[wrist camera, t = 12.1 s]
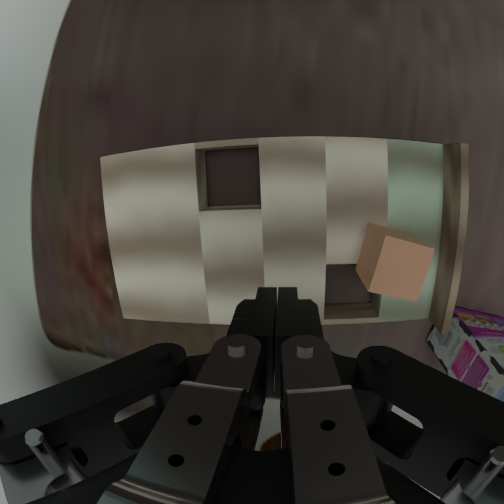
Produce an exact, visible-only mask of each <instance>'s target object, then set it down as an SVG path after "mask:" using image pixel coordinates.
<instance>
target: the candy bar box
mask: <svg viewBox="0 0 504 504" xmlns="http://www.w3.org/2000/svg"><path fill="white" fill-rule="evenodd" d="M426 342H427V343H428V345H429V346H430V347H431V349H432V350H433V352H434V353H435V355H436V356H437V358H438V360H439V361H440V363H441V364H442V366H443V367H444V369H445V371H446V372H447V374H448V376H450V377H452V378H454V379H457V380H459V381H461V382H463V383H465V384H467V385H469V386H471V387H473V388H475V389H477V390H479V391H482V392H484V393H486V394H488V395H490V396H492V397H494V398H496V399H499V400H501V401H503V402H504V317H500V316H495V315H491V314H486V313H482V312H477V311H473V310H468V309H464V308H460V307H455V308H454V312H453V317H452V321H451V325H450V329H449V333H448V334H440V333H439V331H438V330H437V329H436V327H435V326H434V325H433V327H432V329H431V331H430V332H429V335H428V337H427V339H426Z"/></svg>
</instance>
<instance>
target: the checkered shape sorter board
mask: <svg viewBox="0 0 504 504" xmlns="http://www.w3.org/2000/svg"><path fill="white" fill-rule="evenodd" d="M250 147H259V164H260V186H261V205H233V206H210V207H208V197H207V181H206V164H205V151H208V150H220V149H234V148H250ZM100 159H101V175H102V187H103V198H104V208H105V216H106V224H107V232H108V239H109V246H110V252H111V258H112V264H113V270H114V275H115V280H116V286H117V291H118V295H119V300H120V305H121V309H122V314H123V318H128V319H140V320H152V321H167V322H183V323H203V324H231V321H232V318H233V315H234V312H235V309H236V306H237V305H238V304H239V303H240V302H241V301H243V300H244V299H255V298H256V294H257V289H258V287H277V300H278V287H297V292H298V299H311V300H312V301H313V302H315V303H316V304H317V305H318V311H319V316H320V321H321V325H328V324H355V323H375V322H391V321H404V320H417V319H429V320H430V321H431V322H432V324H433V325H434V326H435V327H436V329H437V330H438V331H439V333H440V334H448V333H449V329H450V325H451V321H452V317H453V312H454V308H455V303H456V298H457V293H458V288H459V282H460V276H461V270H462V264H463V257H464V249H465V240H466V230H467V218H468V202H469V144H465V143H452V144H436V143H427V142H418V141H407V140H395V139H381V138H362V137H326V136H303V137H266V138H247V139H232V140H220V141H209V142H199V143H189V144H181V145H173V146H165V147H158V148H151V149H145V150H138V151H132V152H126V153H121V154H115V155H110V156H105V157H100ZM368 223H372V224H376V225H380V226H383V227H387V228H391V229H394V230H398V231H402V232H405V233H409V234H412V235H414V236H415V237H417V238H418V239H420V240H422V241H423V242H425V243H426V244H428V245H430V246H431V247H433V248H434V249H435V250H434V253H433V257H432V260H431V263H430V266H429V269H428V272H427V275H426V277H425V280H424V283H423V286H422V288H421V291H420V294H419V296H418V299H417V302H416V301H411V300H406V299H401V298H396V297H391V296H387V295H382V294H377V293H372V297H371V303H358V304H326V305H324V303H325V280H326V264H357V262H358V259H359V255H360V252H361V248H362V245H363V241H364V238H365V234H366V230H367V227H368Z"/></svg>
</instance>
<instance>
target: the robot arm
mask: <svg viewBox="0 0 504 504" xmlns="http://www.w3.org/2000/svg"><path fill="white" fill-rule="evenodd" d="M274 373H275V394H276V395H280V424H281V444H282V449H276V450H270V451H255V450H254V449H255V446H256V441H257V437H258V433H259V429H260V424H261V420H262V416H263V405H264V403H265V397H266V394H271V395H273V386H274ZM148 396H151V399H152V402H153V406H151V407H149V408H147V409H145V410H143V411H141V412H139V413H136V414H135V415H132V416H130V417H128V418H126V419H124V420H122V421H120V422H117V423H114V417H115V415H116V413H117V412H118V411H120V410H121V409H123V408H125V407H127V406H129V405H132V404H134V403H136V402H138V401H140V400H142V399H144V398H146V397H148ZM393 405H395V406H397V407H398V408H400V409H402V410H403V411H405V412H407V413H409V414H410V415H412V416H414V417H415V418H417V419H418V420H419V421H420V422H421V423H422V425H423V428H424V430H422V429H421V428H419V427H417V426H415V425H414V424H412V423H411V422H409V421H407V420H405V419H404V418H402V417H400V416H399V415H397V414H396V413H394V412H392V411H391V409H392V406H393ZM375 455H376V456H378V457H379V458H380V459H382V460H383V461H385V462H386V463H385V462H383V461H381V460H378V459H376V457H375ZM387 463H388V464H387ZM390 465H391V466H390ZM403 474H404V475H403ZM406 476H407V477H406ZM0 477H1V481H2V484H3V488H4V491H5V495H6V498H7V502H8V504H504V402H503V401H501V400H499V399H496V398H494V397H492V396H490V395H488V394H486V393H484V392H482V391H479V390H477V389H475V388H473V387H471V386H469V385H467V384H465V383H463V382H461V381H459V380H457V379H454V378H452V377H450V376H448V375H446V374H444V373H442V372H440V371H438V370H436V369H434V368H432V367H430V366H428V365H426V364H424V363H422V362H420V361H418V360H416V359H414V358H412V357H410V356H408V355H406V354H404V353H402V352H400V351H398V350H396V349H393V348H390V347H386V346H371V347H368V348H365V349H363V350H362V351H361V352H360V353H359V354H358V356H357V358H351V357H345V356H341V355H338V354H336V353H334V352H332V351H331V349H330V346H329V344H328V343H327V342H326V341H325V340H324V337H323V332H322V326H321V321H320V316H319V311H318V305H317V304H316V303H315V302H313V301H312V300H311V299H298V292H297V287H278V300H277V287H258V289H257V294H256V298H255V299H244V300H243V301H241V302H240V303H239V304H238V305H237V306H236V309H235V312H234V315H233V318H232V321H231V324H230V327H229V330H228V333H227V336H225V337H223V338H221V339H219V340H218V341H216V342H215V344H214V346H213V347H212V349H211V351H210V353H208V354H204V355H197V356H189V357H187V356H186V352H185V350H184V348H183V347H181V346H180V345H177V344H173V343H160V344H155V345H152V346H150V347H147V348H145V349H143V350H140V351H138V352H136V353H133V354H131V355H129V356H126V357H124V358H121V359H119V360H117V361H114V362H112V363H110V364H107V365H104V366H102V367H100V368H97V369H95V370H92V371H90V372H87V373H85V374H82V375H79V376H77V377H75V378H72V379H70V380H67V381H64V382H62V383H59V384H56V385H54V386H51V387H48V388H46V389H43V390H40V391H38V392H35V393H32V394H29V395H27V396H24V397H21V398H19V399H15V400H13V401H10V402H7V403H4V404H1V405H0ZM408 477H409V478H410V479H412V480H413V481H415V482H416V483H418V484H419V485H421V486H423V487H424V488H426V489H427V490H429V491H431V492H432V493H434V494H436V495H437V496H439V497H441V498H440V499H438V498H437V497H435V496H434V495H432V494H431V493H429V492H428V491H426V490H425V489H423V488H422V487H420V486H419V485H418V484H416V483H415V482H413V481H412V480H410V479H409V478H408Z"/></svg>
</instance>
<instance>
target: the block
mask: <svg viewBox="0 0 504 504" xmlns="http://www.w3.org/2000/svg"><path fill="white" fill-rule="evenodd" d="M434 250H435V249H434V248H433V247H431V246H430V245H428V244H426V243H425V242H423V241H422V240H420V239H418V238H417V237H415V236H414V235H412V234H409V233H405V232H402V231H398V230H394V229H391V228H387V227H383V226H380V225H376V224H372V223H368V227H367V230H366V234H365V238H364V241H363V245H362V248H361V252H360V255H359V259H358V262H357V265H356V269H355V271H356V272H357V274H358V275H359V277H360V279H361V280H362V282H363V284H364V286H365V287H366V289H367V291H368V292H372V293H377V294H382V295H387V296H391V297H396V298H401V299H406V300H411V301H416V302H417V299H418V296H419V294H420V291H421V288H422V286H423V283H424V280H425V277H426V275H427V272H428V269H429V266H430V263H431V260H432V257H433V253H434Z"/></svg>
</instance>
